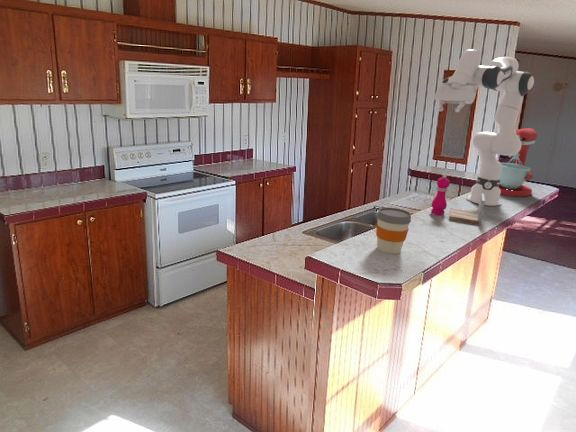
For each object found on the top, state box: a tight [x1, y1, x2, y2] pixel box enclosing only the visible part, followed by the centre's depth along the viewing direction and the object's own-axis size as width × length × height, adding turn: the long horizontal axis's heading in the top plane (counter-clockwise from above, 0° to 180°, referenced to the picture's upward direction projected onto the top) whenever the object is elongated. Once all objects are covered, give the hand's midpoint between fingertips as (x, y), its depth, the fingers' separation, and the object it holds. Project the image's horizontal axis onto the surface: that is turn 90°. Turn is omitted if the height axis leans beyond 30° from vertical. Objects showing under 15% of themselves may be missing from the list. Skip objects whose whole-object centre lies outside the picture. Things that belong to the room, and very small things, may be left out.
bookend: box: [448, 193, 485, 226], centre depth 227 cm, size 16×14×12 cm
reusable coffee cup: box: [375, 207, 412, 255], centre depth 177 cm, size 13×13×15 cm
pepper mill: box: [430, 174, 451, 216], centre depth 230 cm, size 7×7×20 cm
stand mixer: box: [498, 127, 538, 197], centre depth 292 cm, size 24×32×40 cm
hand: (448, 111), depth 213 cm, fingers open, 8 cm apart
